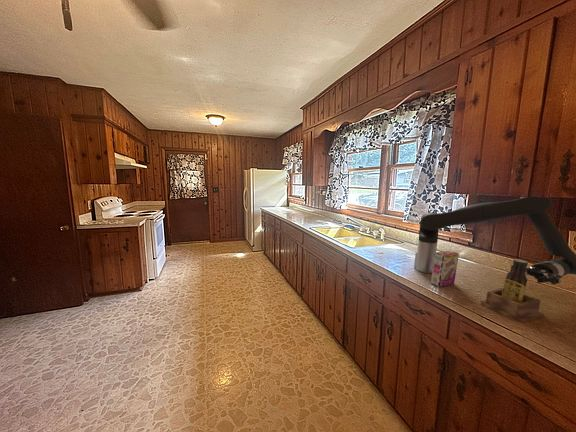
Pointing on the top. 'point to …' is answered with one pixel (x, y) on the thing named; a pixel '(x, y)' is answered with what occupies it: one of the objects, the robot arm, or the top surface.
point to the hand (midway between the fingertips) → (524, 276)
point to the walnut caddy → (513, 306)
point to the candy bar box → (444, 268)
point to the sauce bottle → (515, 282)
